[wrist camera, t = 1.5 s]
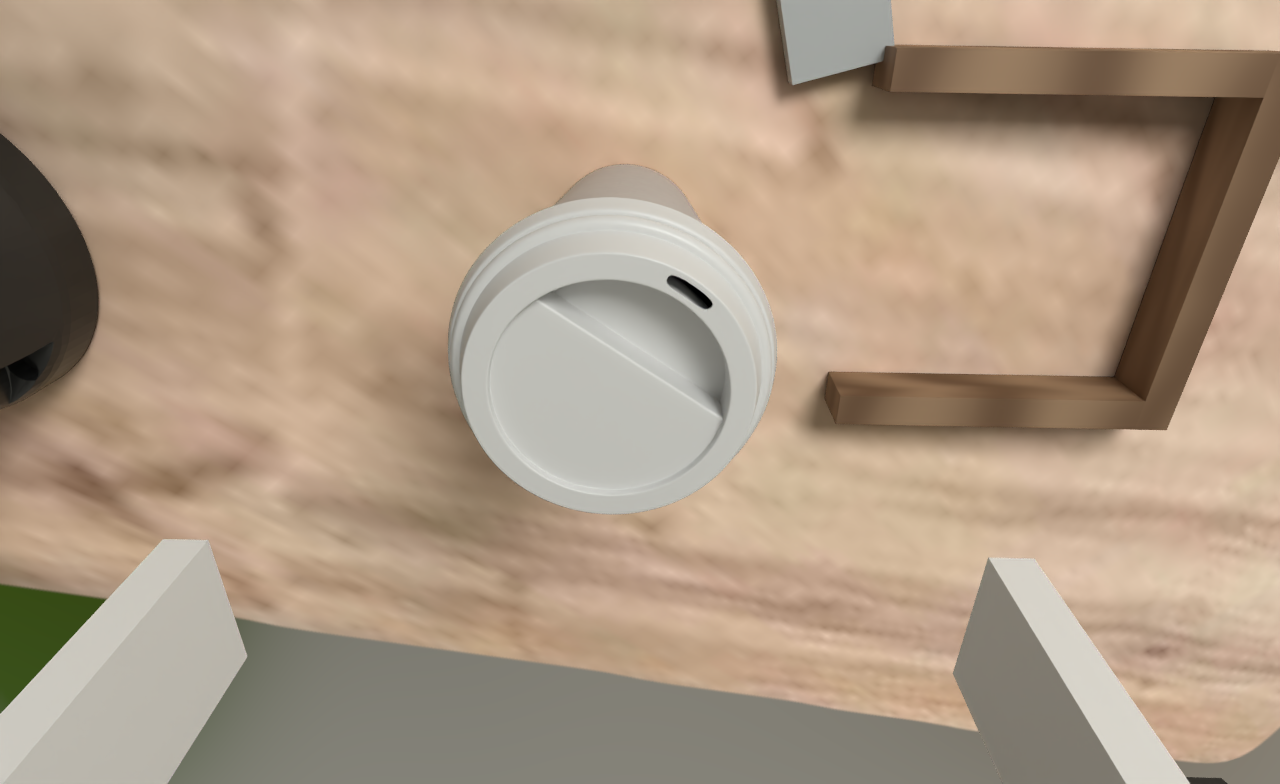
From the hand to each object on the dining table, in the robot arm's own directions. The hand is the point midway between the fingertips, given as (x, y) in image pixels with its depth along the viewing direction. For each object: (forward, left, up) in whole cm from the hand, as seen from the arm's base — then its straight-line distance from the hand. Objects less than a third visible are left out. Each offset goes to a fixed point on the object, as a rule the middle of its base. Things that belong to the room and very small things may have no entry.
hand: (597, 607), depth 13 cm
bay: (+17, 0, -23) cm, 28 cm away
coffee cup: (0, 0, -23) cm, 23 cm away
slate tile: (+8, +9, -23) cm, 26 cm away
